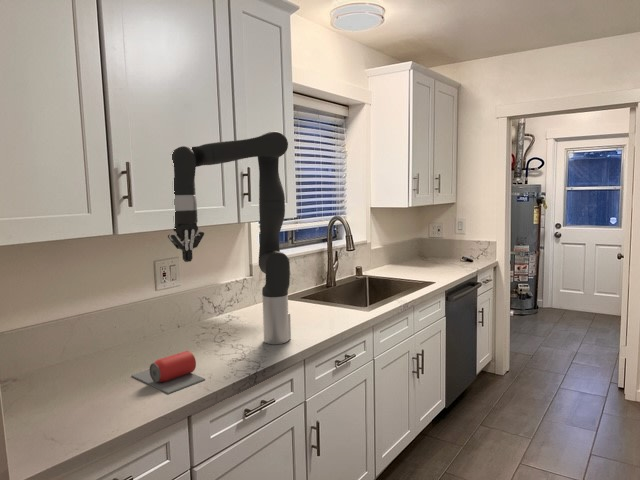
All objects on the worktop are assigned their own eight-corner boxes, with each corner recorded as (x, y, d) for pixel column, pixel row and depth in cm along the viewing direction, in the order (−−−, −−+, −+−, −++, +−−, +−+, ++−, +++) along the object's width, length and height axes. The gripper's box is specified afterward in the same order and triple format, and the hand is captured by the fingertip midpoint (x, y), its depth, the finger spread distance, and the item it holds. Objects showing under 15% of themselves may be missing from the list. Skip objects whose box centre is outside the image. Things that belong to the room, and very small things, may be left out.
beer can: (182, 353, 143) (146, 364, 134) (192, 347, 139) (156, 359, 130) (188, 373, 141) (152, 386, 132) (199, 368, 137) (162, 381, 128)
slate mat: (167, 364, 147) (167, 363, 147) (205, 379, 135) (205, 378, 134) (131, 376, 138) (131, 375, 138) (168, 394, 125) (168, 392, 125)
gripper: (195, 208, 158) (197, 258, 160) (160, 209, 148) (163, 263, 150) (208, 208, 153) (211, 259, 155) (173, 210, 143) (176, 265, 145)
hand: (187, 261), depth 152 cm, fingers closed
